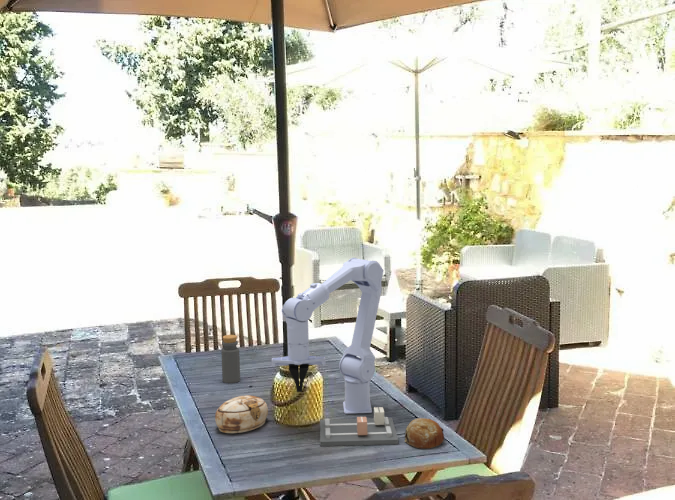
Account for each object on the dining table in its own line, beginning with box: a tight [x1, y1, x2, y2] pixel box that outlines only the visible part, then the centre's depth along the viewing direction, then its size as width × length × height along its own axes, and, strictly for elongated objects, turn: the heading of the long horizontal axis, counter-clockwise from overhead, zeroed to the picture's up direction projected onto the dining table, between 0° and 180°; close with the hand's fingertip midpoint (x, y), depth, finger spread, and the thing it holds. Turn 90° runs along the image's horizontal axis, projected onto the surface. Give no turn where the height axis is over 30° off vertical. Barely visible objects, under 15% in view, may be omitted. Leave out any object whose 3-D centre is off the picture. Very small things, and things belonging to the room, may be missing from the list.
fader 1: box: [356, 416, 367, 435], centre depth 201 cm, size 4×2×4 cm, turn 2°
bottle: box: [220, 334, 241, 384], centre depth 253 cm, size 6×6×15 cm
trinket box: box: [214, 394, 269, 434], centre depth 213 cm, size 13×15×8 cm
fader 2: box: [373, 406, 385, 425], centre depth 209 cm, size 4×2×4 cm, turn 2°
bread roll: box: [404, 417, 445, 449], centre depth 199 cm, size 10×10×8 cm
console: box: [319, 416, 399, 447], centre depth 205 cm, size 16×20×2 cm
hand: (299, 390), depth 210 cm, fingers closed
